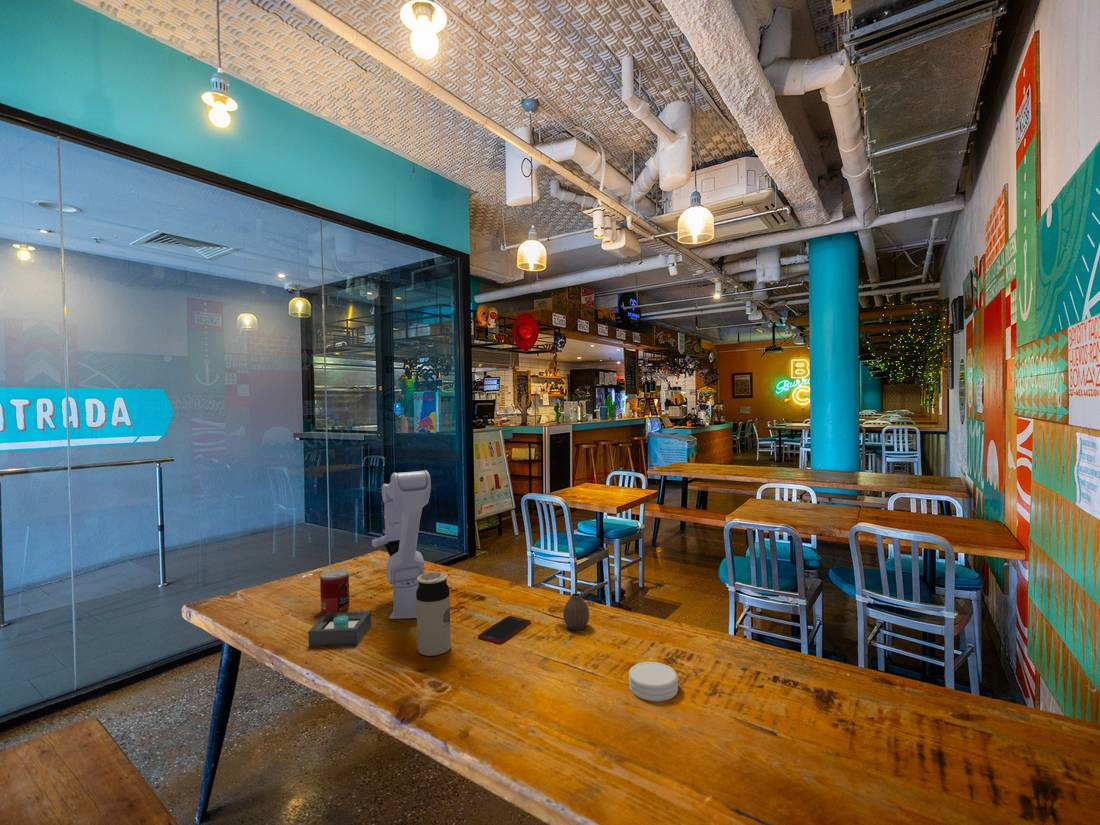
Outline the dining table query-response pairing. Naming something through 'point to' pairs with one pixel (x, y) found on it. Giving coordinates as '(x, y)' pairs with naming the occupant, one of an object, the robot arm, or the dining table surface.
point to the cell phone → (504, 630)
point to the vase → (576, 612)
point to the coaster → (653, 681)
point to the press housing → (339, 630)
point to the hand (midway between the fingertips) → (395, 564)
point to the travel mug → (433, 614)
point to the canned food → (334, 591)
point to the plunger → (341, 623)
